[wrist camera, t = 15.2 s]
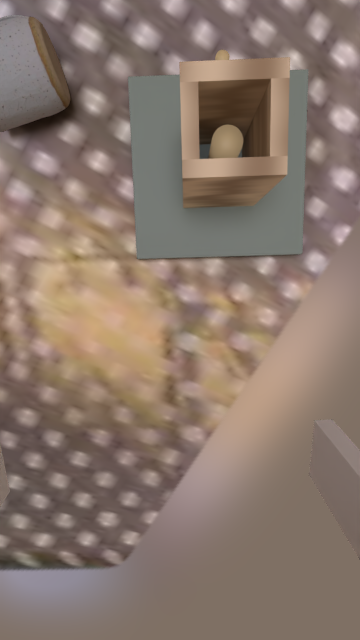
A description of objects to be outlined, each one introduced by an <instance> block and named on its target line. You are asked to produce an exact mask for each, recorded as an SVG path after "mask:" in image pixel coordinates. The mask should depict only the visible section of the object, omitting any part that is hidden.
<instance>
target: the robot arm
mask: <svg viewBox="0 0 360 640" xmlns="http://www.w3.org/2000/svg"><path fill="white" fill-rule="evenodd" d="M309 475H310V477H311V479H312V480H313V482H314V484H315V485H316V487H317V489H318V490H319V492H320V494H321V496H322V497H323V499H324V500H325V502H326V504H327V506H328V507H329V509H330V511H331V512H332V514H333V516H334V517H335V519H336V521H337V522H338V524H339V526H340V527H341V529H342V531H343V532H344V534H345V536H346V537H347V539H348V541H349V542H350V544H351V546H352V548H353V549H354V551H355V552H356V554H357V556H358V558H359V559H360V450H359V449H358V448H357V447H356V445H355V444H354V443H353V442H352V441H351V440H350V439H349V438H348V437H347V436H346V434H345V433H344V432H343V431H342V430H341V429H340V428H339V427H338V425H337V424H336V423H335V422H334V421H333V420H315V421H314V431H313V442H312V451H311V462H310V472H309ZM9 492H10V489H9V484H8V479H7V474H6V470H5V465H4V460H3V455H2V450H1V445H0V507H1V505H2V503H3V502H4V500H5V499H6V497H7V495H8V494H9Z"/></svg>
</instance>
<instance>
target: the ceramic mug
mask: <svg viewBox="0 0 360 640" xmlns="http://www.w3.org/2000/svg"><path fill="white" fill-rule="evenodd" d="M69 103H70V93H69V89H68V85H67V82H66V79H65V76H64V73H63V70H62V67H61V65H60V62H59V59H58V57H57V54H56V52H55V49H54V47H53V45H52V42H51V40H50V38H49V36H48V34H47V32H46V30H45V28H44V27H43V25H42V24H41V23H40V22H39V21H38V20H37V19H35V18H34V17H25V16H21V15H11V16H6V17H2V18H0V132H4V131H6V130H9V129H12V128H15V127H18V126H21V125H24V124H27V123H30V122H33V121H35V120H38V119H41V118H44V117H48V116H51V115H54V114H56V113H59V112H60V111H62V110H64V109H65V108H67V107H68V105H69Z"/></svg>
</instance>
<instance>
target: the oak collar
mask: <svg viewBox="0 0 360 640" xmlns="http://www.w3.org/2000/svg"><path fill="white" fill-rule="evenodd" d="M179 63H180V103H181V142H182V181H183V208H202V207H233V206H254V205H255V204H256V203H257V202H258V201H259V200H260V199H262V198H263V197H264V196H265V195H266V194H267V193H268V192H269V191H270V190H271V189H272V188H273V187H274V186H276V185H277V184H278V183H279V182H280V181H281V180H282V179H283V178H284V177H285V176H286V175H287V164H288V121H289V79H290V57H286V58H262V59H238V60H214V61H190V62H179ZM227 124H228V125H233V126H235V127H237V128H238V129H239V130H240V131H241V133H242V136H243V146H242V158H215V159H200V157H199V145H201V144H211V141H212V137H213V134H214V132H215V131H216V130H217V129H218V128H219V127H221V126H223V125H227Z"/></svg>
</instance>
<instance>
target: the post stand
mask: <svg viewBox="0 0 360 640" xmlns="http://www.w3.org/2000/svg"><path fill="white" fill-rule="evenodd" d="M215 60H229V54H228V52H227V51H225V50H220V51H218V53H217V54H216V58H215ZM128 85H129V105H130V126H131V146H132V167H133V187H134V207H135V228H136V248H137V259H167V258H201V257H235V256H269V255H298V254H302V247H303V216H304V185H305V154H306V123H307V92H308V70H290V79H289V121H288V164H287V175H286V176H285V177H284V178H283V179H282V180H281V181H280V182H279V183H278V184H277V185H276V186H274V187H273V188H272V189H271V190H270V191H269V192H268V193H267V194H266V195H265V196H264V197H263V198H262V199H260V200H259V201H258V202H257V203H256V204H255V205H254V206H233V207H202V208H183V181H182V142H181V103H180V75H161V76H136V77H128ZM242 146H243V136H242V133H241V131H240V130H239V129H238V128H237V127H235V126H233V125H228V124H227V125H223V126H221V127H219V128H218V129H217V130H216V131H215V132H214V134H213V137H212V141H211V144H201V145H199V157H200V159H215V158H242Z"/></svg>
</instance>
